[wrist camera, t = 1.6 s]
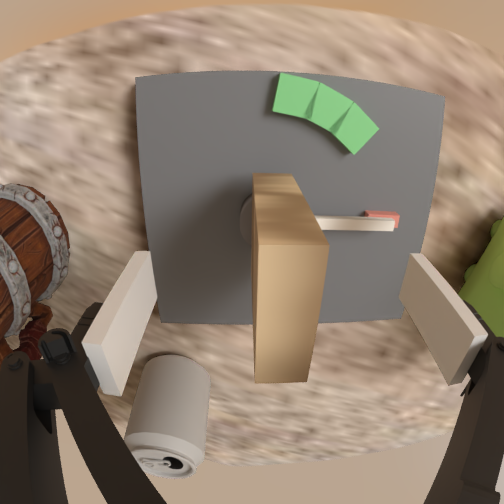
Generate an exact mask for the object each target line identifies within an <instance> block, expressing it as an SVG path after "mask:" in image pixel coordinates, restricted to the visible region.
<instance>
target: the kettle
mask: <svg viewBox="0 0 504 504" xmlns="http://www.w3.org/2000/svg"><path fill="white" fill-rule="evenodd" d="M490 234H491V237H492V239H491V241H490V243H489V244H488V246H487V248H486V249H485V251H484V253H483V255H482V256H481V258H480V260H479V261H478V263H477V264H473V265H471V266H470V267H469V268H468V269H467V270H466V272H465V275H464V279H465V281H466V282H465V283H464V285H463V286H462V288H461V289H460V291H459V292H458V294H457V295H458V296H459V297H460V298H461V299H462V300H465V301H466V302H468V303H469V304H471V305H472V306H473V307H474V309H475V310H476V311H477V312H478V314H479V315H480V316H481V317H482V320H484V321H485V323H486V324H487V325H488V326H489V328H490V329H491V330H492V332H493V333H494V334H495V336H496V337H504V217H503V219H502V220H497V221H496V222H495V223H494V224H493V226H492V228H491V232H490Z"/></svg>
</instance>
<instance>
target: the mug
mask: <svg viewBox="0 0 504 504" xmlns="http://www.w3.org/2000/svg"><path fill="white" fill-rule="evenodd" d="M44 200H45V196H44V195H43V194H41V193H40V192H38V191H37V190H36V189H34V188H32V187H28V186H24V185H20V184H17V185H15V184H11V183H10V184H7V185H2V184H0V368H1V364H2V361H3V360H4V358H5V357H6V356H7V355H9V354H10V353H13V352H16V351H22V352H25V353H26V354H27V355H28V356H29V358H30V360H40V358H41V357H42V354H41V352H40V350H39V348H38V341H39V339H40V337H41V336H42V335H43V334H44V333H46V332H47V325H48V323H49V322H50V320H51V318H52V316H53V314H52V311H51V308H50V307H49V306H46V305H44V304H41V303H38V302H37V301H41V300H43V299H50V298H51V297H52V294H53V293H54V292H55V291H56V290H57V289H58V287H59V286H60V284H61V283H62V281H63V280H64V278H65V277H66V275H67V273H68V269H67V268H68V262H69V256H70V253H69V252H68V249H69V248H70V245H69V238H68V232H67V229H66V227H65V225H64V222H63V220H62V218H61V215H60V213H59V212H58V211H57V209H56V208H55V207H54V206H53V204H52V203H51V202H50V201H48V202H45V201H44ZM28 317H32V319H33V320H32V321H29V322H28V323H27V325H26V326H25V329H23V330H20V328H21V327H22V326H23V325H24V323H25V322H26V320H27V318H28ZM18 334H19V340H20V346H19V348H17V349H15V350H13V351H12V349H11V348H10V347H9V345H8V344H7V342H6V340H5V338H7V337H9V336H11V335H18Z"/></svg>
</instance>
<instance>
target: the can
mask: <svg viewBox="0 0 504 504" xmlns="http://www.w3.org/2000/svg"><path fill="white" fill-rule="evenodd" d="M210 387H211V380H210V376H209V374H208V373H207V371H206V370H205V369H204V368H203V367H202V366H201V365H199V364H198V363H196V362H195V361H193V360H192V359H189V358H187V357H185V356H180V355H162V356H158V357H155V358H152V359H151V360H150V361H148V362H147V363H146V365H145V367H144V368H143V372H142V375H141V379H140V382H139V385H138V389H137V392H136V396H135V400H134V403H133V407H132V410H131V414H130V418H129V421H128V425H127V429H126V433H125V437H124V442H125V444H126V445H127V447H128V448H129V450H130V452H131V453H132V455H133V456H134V458H135V459H136V461H137V462H138V464H139V465H140V467H141V468H142V470H143V471H144V472H145V473H148V474H151V475H154V476H158V477H163V478H171V479H180V478H187V477H190V476H192V475H194V474H195V473H196V467H197V466H198V465H199V464H201V463H202V462H203V460H204V457H205V445H206V433H207V421H208V409H209V398H210Z"/></svg>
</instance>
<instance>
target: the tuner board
mask: <svg viewBox="0 0 504 504" xmlns="http://www.w3.org/2000/svg"><path fill="white" fill-rule="evenodd" d="M135 80H136V116H137V136H138V151H139V165H140V177H141V187H142V197H143V207H144V216H145V224H146V232H147V240H148V247H149V251H150V254H151V261H152V267H153V274H154V280H155V286H156V292H157V303H158V309H159V314H160V320H161V323H187V324H253V312H252V281H251V249H252V247H251V246H250V245H249V244H248V243H247V242H246V241H245V240H244V238H243V236H242V234H241V231H240V210H241V206H242V204H243V202H244V200H245V199H246V198H247V197H248V196H249V195H250V194H251V193H252V178H253V173H287V174H292V176H293V177H294V179H295V181H296V183H297V185H298V186H299V188H300V190H301V192H302V194H303V196H304V197H305V199H306V201H307V203H308V205H309V207H310V209H311V210H312V212H313V214H314V215H318V216H354V217H382V218H393V219H394V220H395V225H394V230H393V231H361V230H322V231H323V233H324V235H325V237H326V239H327V241H328V243H329V245H330V246H329V254H328V261H327V268H326V275H325V282H324V288H323V295H322V301H321V308H320V314H319V320H318V323H336V322H356V321H373V320H388V319H401V317H402V314H403V311H404V308H405V307H404V305H403V304H402V302H401V300H400V299H399V294H400V290H401V287H402V283H403V280H404V276H405V272H406V268H407V264H408V261H409V256H410V253H420V252H421V248H422V244H423V239H424V235H425V231H426V226H427V222H428V217H429V212H430V207H431V202H432V197H433V191H434V186H435V180H436V174H437V167H438V161H439V153H440V146H441V137H442V128H443V118H444V106H445V96H441V95H437V94H433V93H429V92H425V91H420V90H416V89H411V88H406V87H402V86H397V85H391V84H386V83H380V82H374V81H368V80H361V79H354V78H347V77H339V76H330V75H320V74H309V73H295V72H277V71H205V72H186V73H173V74H161V75H152V76H143V77H135Z"/></svg>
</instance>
